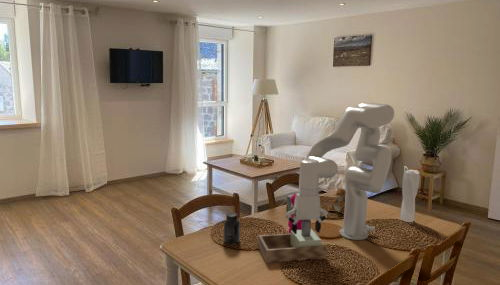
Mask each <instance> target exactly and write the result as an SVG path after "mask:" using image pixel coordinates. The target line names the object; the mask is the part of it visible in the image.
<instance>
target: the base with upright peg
mask: <svg viewBox="0 0 500 285" xmlns="http://www.w3.org/2000/svg"><path fill="white" fill-rule="evenodd" d="M311 227H312V219H311V220H302V230H297V234H294V232H293V231H292V230H291V240H290V244H291V245H292V247H308V246H322V239H321V238H320V236H319V235H318V234H317V232H316V231H314V230H313V229H312V228H311Z"/></svg>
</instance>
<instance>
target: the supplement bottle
mask: <svg viewBox="0 0 500 285" xmlns="http://www.w3.org/2000/svg"><path fill="white" fill-rule="evenodd" d="M225 216H226V217H225V220H224V223H223V242H224V241H225V242H226V243H225V242H224V243H225V244H228V243H229V244H228V245H235V243H236V244H238V243H240V235H241V234H240V233H241V222H240V220H239V215H238V213H237V212H227V213H226V215H225Z"/></svg>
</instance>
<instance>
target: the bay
mask: <svg viewBox="0 0 500 285" xmlns="http://www.w3.org/2000/svg"><path fill="white" fill-rule="evenodd" d="M290 240H291V233H290V234H289V233H278V234H277V233H275V234H260V235H259V234H258V239H257V248H258V247H259V248H258V249H259V252H260V253H261V255H262V257H263V259H264V261H265V263H266V264H268V263H270V264H271V263H282V262H283V261H284V262H294V261H293V260H298V261H307V260H306V259H311V260H321V259H324V260H325V259H326V258H327V245H321V246H308V247H292V245H291V244H290Z"/></svg>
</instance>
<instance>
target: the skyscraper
mask: <svg viewBox="0 0 500 285" xmlns="http://www.w3.org/2000/svg"><path fill="white" fill-rule="evenodd" d="M401 185H402V187H401V188H402V189H401V190H402V191H401V192H402V201H401V205H400V206H401V207H400V213H399V218H398V219H399V220H403V221H406V222H412V223H414V222H415V218H416V200H415V199H416V197H417V194H418V191H419V186H420V172H419V170H417V169H408V167H407V166H406V165H404V166H403V175H402V184H401ZM413 221H414V222H413Z"/></svg>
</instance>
